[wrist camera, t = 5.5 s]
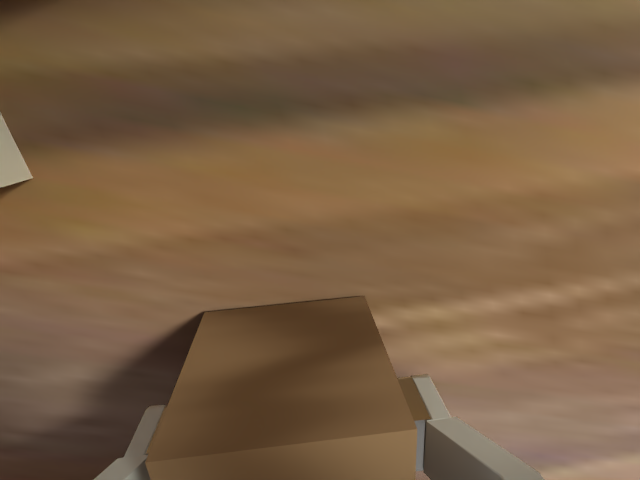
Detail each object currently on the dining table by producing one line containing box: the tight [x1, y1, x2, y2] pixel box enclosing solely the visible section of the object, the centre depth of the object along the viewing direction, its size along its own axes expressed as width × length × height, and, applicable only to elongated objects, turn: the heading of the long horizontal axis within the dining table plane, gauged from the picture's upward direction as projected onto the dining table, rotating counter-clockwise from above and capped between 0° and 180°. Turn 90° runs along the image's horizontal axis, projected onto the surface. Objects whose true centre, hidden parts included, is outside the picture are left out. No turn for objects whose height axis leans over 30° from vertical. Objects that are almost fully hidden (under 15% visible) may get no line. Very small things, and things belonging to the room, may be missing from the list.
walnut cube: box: [145, 296, 417, 480], centre depth 10 cm, size 5×5×5 cm
